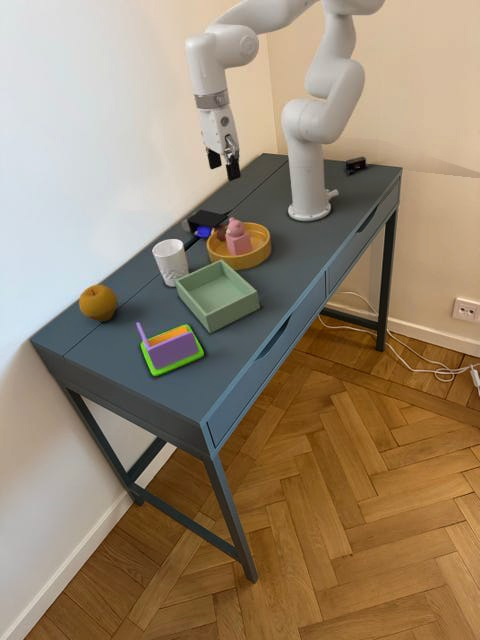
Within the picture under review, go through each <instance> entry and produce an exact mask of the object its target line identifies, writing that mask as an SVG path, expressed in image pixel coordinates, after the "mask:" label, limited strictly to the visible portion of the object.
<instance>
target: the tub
mask: <svg viewBox="0 0 480 640" xmlns="http://www.w3.org/2000/svg"><path fill="white" fill-rule="evenodd" d="M175 284H176V291H177V293H178V297H179V298H180V299H181V301H182V302H183V303H184V304H185V306H187V308H188V309H189V310H190V311H191V312H192V313H193V315H194V316H195V317H196V318H197V319H198V321H199V322H200V323H201V324H202V325H203V327H204V328H205V329H206V331H208V333H209V334H212V333H214V332H216V331H218V330H220V329H222V328H224V327H225V326H227V325H230V324H232V323H233V322H236V321H237V320H240V319H241V318H244V317H245V316H248V315H249V314H251V313H253V312H255V311H257V310H259V309H261V305H260V299H259V293H258V291H257V289H255V288H254V287H253V285H251V284H250V283H249V282H248V281H247V280H245V279H244V278H243V277H242V276H241V275H240V274H239V273H238V272H236V270H233V269H232V268H231V267H230V266H229V265H228V264H226V263H225V262H224V261H223V260H222V259H221V260H219V261H217V262H214V263H210V264H208V265H206V266H204V267H201V268H199V269H197V270H195V271H193V272H189V274H188V275H186V276H184V277H181V278H179V279H177V280H175Z"/></svg>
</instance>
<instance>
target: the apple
mask: <svg viewBox="0 0 480 640" xmlns="http://www.w3.org/2000/svg"><path fill="white" fill-rule="evenodd" d="M78 306H79V310H80V312H82V314H83V315H84V316H85V317H87V318H89V319H91V320H93V321H95V322H96V321H97V322H107V321H110V320H111V319H113V316H114V314H115V312H116V309H117V306H118V297H117V295H116V294H115V292H114V291H113V289H111V288H110V287H108V286H106V285H104V284H95V285H91V286H88V287H87V288H86V289H84V290H83V291H82V292H81V294H80V296H79V299H78Z"/></svg>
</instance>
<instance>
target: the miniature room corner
mask: <svg viewBox="0 0 480 640" xmlns="http://www.w3.org/2000/svg"><path fill="white" fill-rule="evenodd" d="M135 325H136V327H137V330H138V332H139V334H140V337H141V339H142V341H141V342H140V348H141V351H142V354H143V356H144V359H145V361H146V364H147V366H148V368H149V371H150V373H151V375H152V376H153V377H158V376H161V375H164V374H166V373H169V372H171V371H173V370H177V369H178V368H181V367H183V366H186V365H188V364H190V363H192V362H195V361H197V360H199V359H201V358H203V357H204V356H205V352H204V350H203V347H202V345H201V343H200V342H199V340H198V338H197V336H196V335H195V333H194V331H193V330H192V328H191V326H190V325H189V324H182V325H180V326H177V327H174V328H172V329H170V330H167V331H165V332H162V333H160V334H157V335H154V336H152V337H150V338H147V337H146V335H145V332H144V329H143V327H142V325H141V323H140V322H138V321H137V322H136V324H135Z"/></svg>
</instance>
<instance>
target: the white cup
mask: <svg viewBox="0 0 480 640" xmlns="http://www.w3.org/2000/svg"><path fill="white" fill-rule="evenodd" d="M152 254H153V257H154V259H155V263H156V264H157V267H158V269H159V272H160V275H161V276H162V278H163V280H164V283H165V285H166V286H168V287H172V288H174V287H176V284H175V280H177V279H179V278H181V277H184V276H186V275H188V274H190V271H189V265H188V259H187V254H186V251H185V246H184V243H183V241H182V240H180V239H177V238H170V239H165V240H162V241H159V242H158V243H157V244H155V245H154V247H153V248H152ZM176 288H177V287H176Z"/></svg>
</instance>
